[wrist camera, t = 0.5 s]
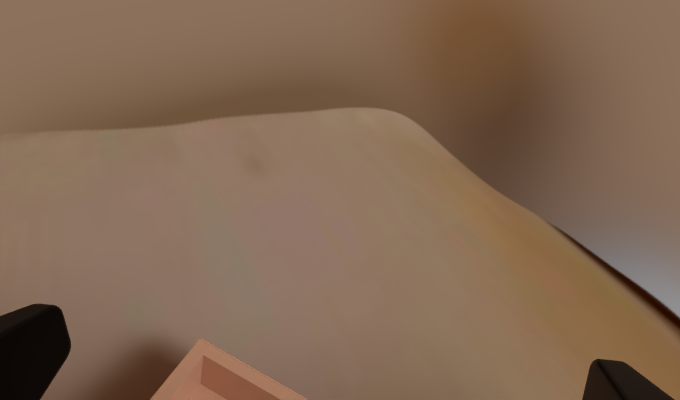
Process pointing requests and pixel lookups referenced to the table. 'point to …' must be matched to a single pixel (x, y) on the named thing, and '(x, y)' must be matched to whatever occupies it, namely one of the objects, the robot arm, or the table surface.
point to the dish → (219, 379)
